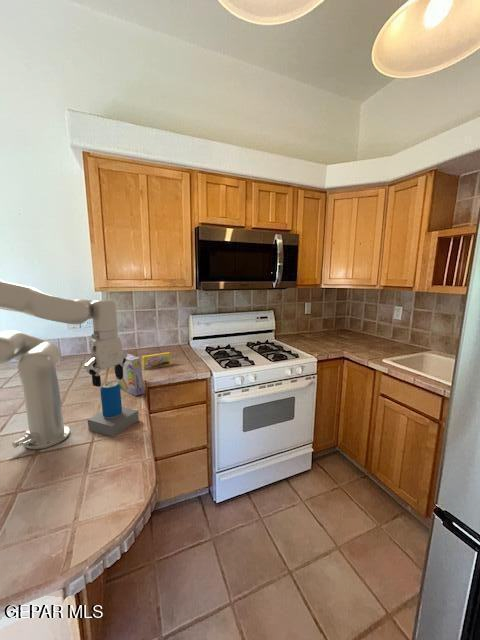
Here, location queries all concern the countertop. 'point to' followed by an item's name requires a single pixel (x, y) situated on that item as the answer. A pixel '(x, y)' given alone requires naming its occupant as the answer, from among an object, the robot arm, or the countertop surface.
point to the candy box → (156, 360)
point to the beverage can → (111, 399)
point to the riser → (113, 422)
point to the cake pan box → (131, 376)
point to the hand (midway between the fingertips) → (108, 381)
